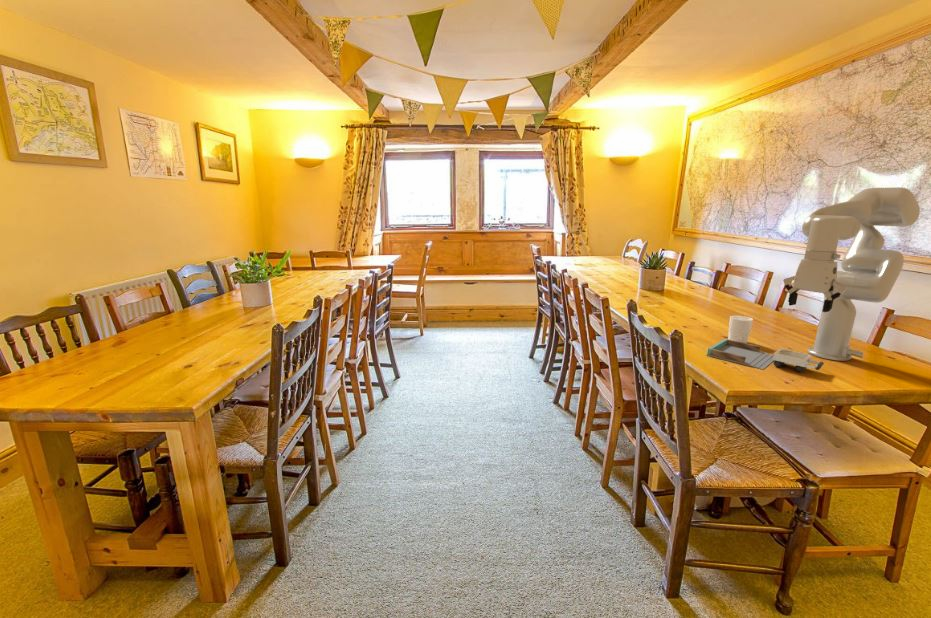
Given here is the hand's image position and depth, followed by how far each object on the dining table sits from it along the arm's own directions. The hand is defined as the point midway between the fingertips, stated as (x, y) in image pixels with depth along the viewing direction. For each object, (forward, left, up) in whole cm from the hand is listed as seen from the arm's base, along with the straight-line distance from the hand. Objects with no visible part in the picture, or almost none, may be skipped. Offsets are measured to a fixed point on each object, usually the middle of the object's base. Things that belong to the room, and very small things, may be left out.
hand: (808, 308), depth 140 cm
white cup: (+23, -19, -22) cm, 37 cm away
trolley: (0, -1, -22) cm, 22 cm away
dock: (+16, -1, -22) cm, 27 cm away
